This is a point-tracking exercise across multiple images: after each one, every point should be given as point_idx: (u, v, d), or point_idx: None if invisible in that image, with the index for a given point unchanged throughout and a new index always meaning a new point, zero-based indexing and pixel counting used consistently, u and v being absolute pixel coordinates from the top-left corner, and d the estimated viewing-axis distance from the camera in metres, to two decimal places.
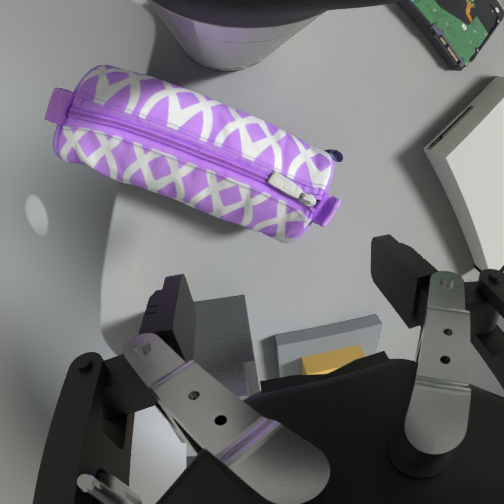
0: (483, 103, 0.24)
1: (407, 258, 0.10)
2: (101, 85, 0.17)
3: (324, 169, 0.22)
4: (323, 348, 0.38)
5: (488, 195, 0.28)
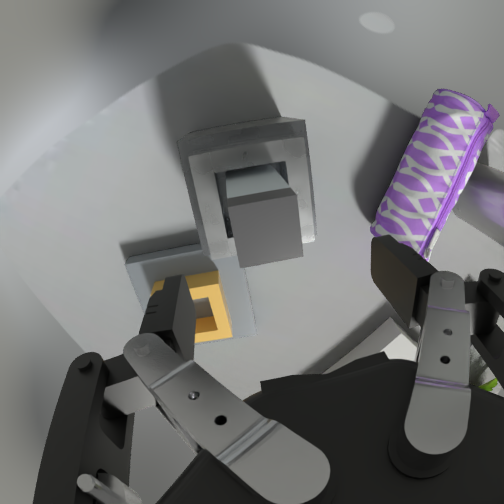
0: None
1: (407, 258, 0.10)
2: (488, 136, 0.26)
3: None
4: (230, 289, 0.38)
5: None
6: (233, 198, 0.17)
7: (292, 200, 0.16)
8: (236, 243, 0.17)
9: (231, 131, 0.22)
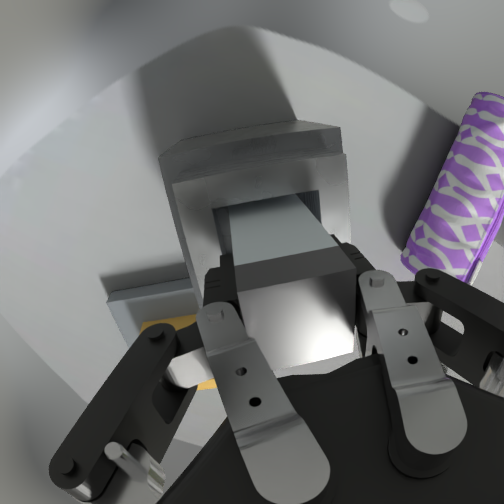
0: None
1: None
2: None
3: None
4: None
5: None
6: (245, 267, 0.10)
7: (347, 277, 0.09)
8: None
9: (236, 142, 0.16)
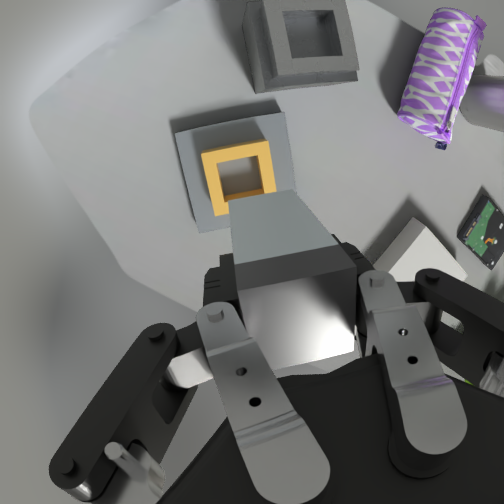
0: None
1: None
2: None
3: (451, 136, 0.34)
4: (275, 159, 0.39)
5: (404, 276, 0.46)
6: (245, 265, 0.10)
7: (347, 275, 0.09)
8: None
9: None
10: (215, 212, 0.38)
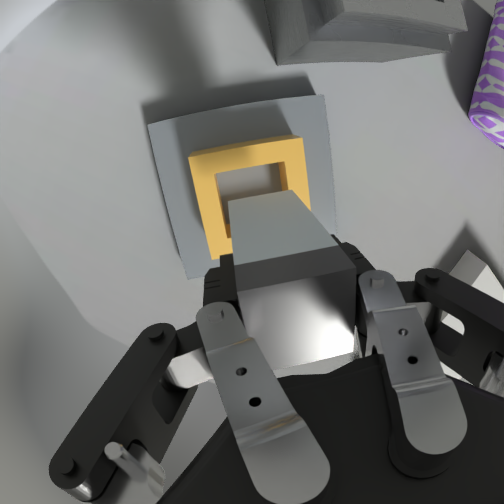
0: None
1: None
2: None
3: None
4: (307, 168, 0.24)
5: (455, 327, 0.32)
6: (245, 266, 0.10)
7: (347, 276, 0.09)
8: None
9: None
10: (212, 254, 0.24)
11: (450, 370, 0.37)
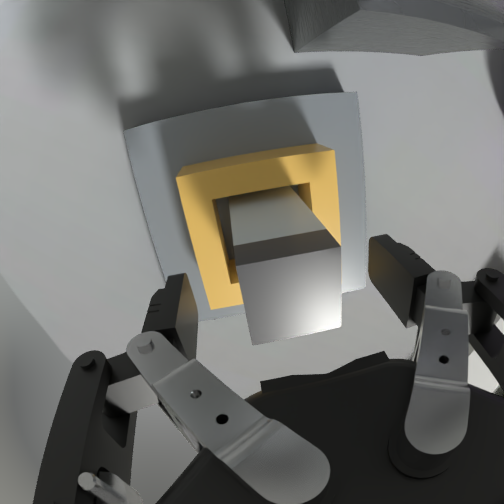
0: None
1: (404, 258, 0.10)
2: None
3: None
4: None
5: (480, 361, 0.27)
6: (243, 246, 0.11)
7: (333, 254, 0.10)
8: (248, 315, 0.11)
9: None
10: (211, 302, 0.18)
11: None
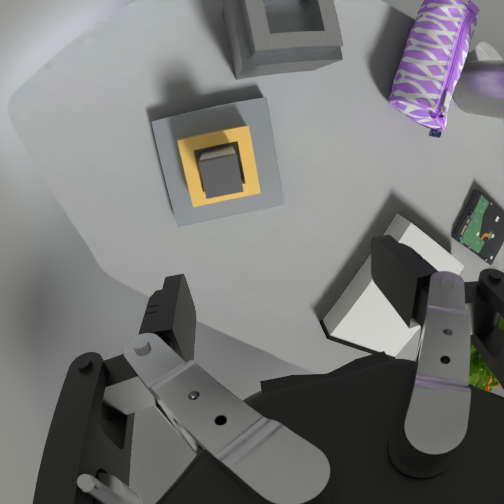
0: None
1: (407, 258, 0.10)
2: (474, 27, 0.25)
3: (446, 122, 0.32)
4: (257, 146, 0.36)
5: None
6: (202, 159, 0.29)
7: (234, 158, 0.28)
8: (204, 183, 0.28)
9: None
10: (193, 203, 0.35)
11: None
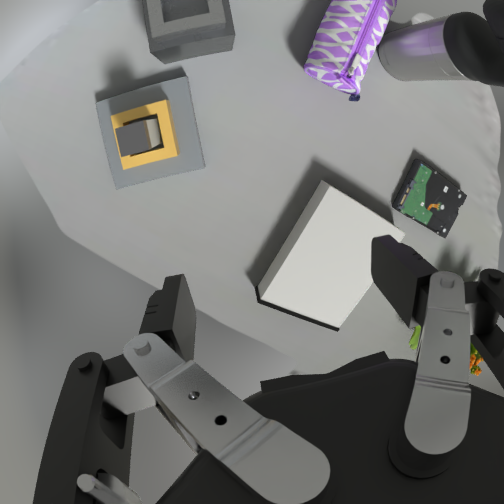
0: (373, 211, 0.49)
1: (407, 258, 0.10)
2: None
3: (359, 84, 0.35)
4: (178, 118, 0.40)
5: (320, 242, 0.48)
6: None
7: (141, 123, 0.32)
8: (119, 145, 0.32)
9: None
10: (123, 166, 0.39)
11: (340, 287, 0.52)
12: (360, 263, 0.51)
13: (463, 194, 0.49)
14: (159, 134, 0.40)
